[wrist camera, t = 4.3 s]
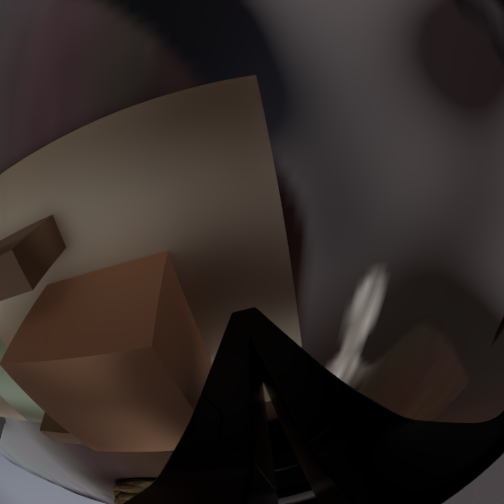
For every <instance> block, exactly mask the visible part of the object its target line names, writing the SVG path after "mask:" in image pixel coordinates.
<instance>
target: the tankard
mask: <svg viewBox="0 0 504 504" xmlns="http://www.w3.org/2000/svg"><path fill="white" fill-rule="evenodd" d="M155 480H156V479H130V480H127V481H123V482H119V483H118V485H117V486H114V496H115V500H114V503H115V504H123V503H124V502H126V501H127V500H129V499H131V498H132V497H134V496H135V495H137V494H138V493H140V492H141V491H143V490H144V489H146V488H147V487H148V486H150V485H151V484H152V483H153V482H154V481H155Z"/></svg>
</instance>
